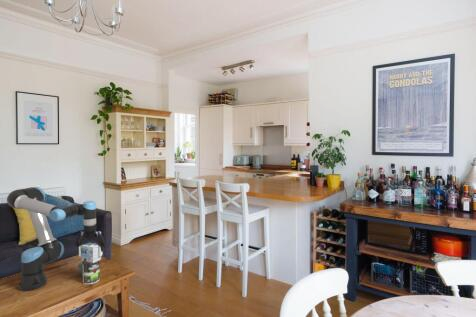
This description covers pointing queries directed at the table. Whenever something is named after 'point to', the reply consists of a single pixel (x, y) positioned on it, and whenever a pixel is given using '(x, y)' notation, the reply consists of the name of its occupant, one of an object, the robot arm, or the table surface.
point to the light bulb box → (90, 252)
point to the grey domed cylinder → (80, 269)
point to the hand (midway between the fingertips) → (90, 255)
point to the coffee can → (90, 272)
